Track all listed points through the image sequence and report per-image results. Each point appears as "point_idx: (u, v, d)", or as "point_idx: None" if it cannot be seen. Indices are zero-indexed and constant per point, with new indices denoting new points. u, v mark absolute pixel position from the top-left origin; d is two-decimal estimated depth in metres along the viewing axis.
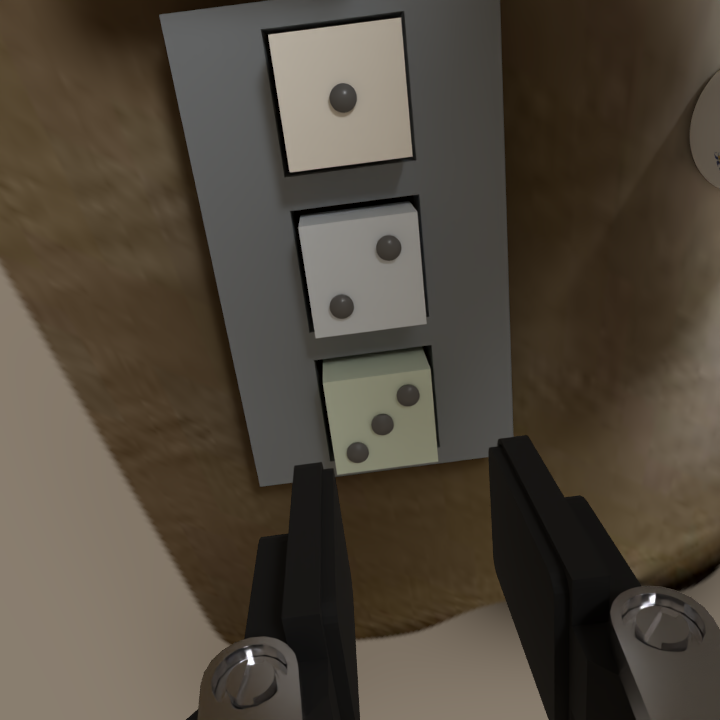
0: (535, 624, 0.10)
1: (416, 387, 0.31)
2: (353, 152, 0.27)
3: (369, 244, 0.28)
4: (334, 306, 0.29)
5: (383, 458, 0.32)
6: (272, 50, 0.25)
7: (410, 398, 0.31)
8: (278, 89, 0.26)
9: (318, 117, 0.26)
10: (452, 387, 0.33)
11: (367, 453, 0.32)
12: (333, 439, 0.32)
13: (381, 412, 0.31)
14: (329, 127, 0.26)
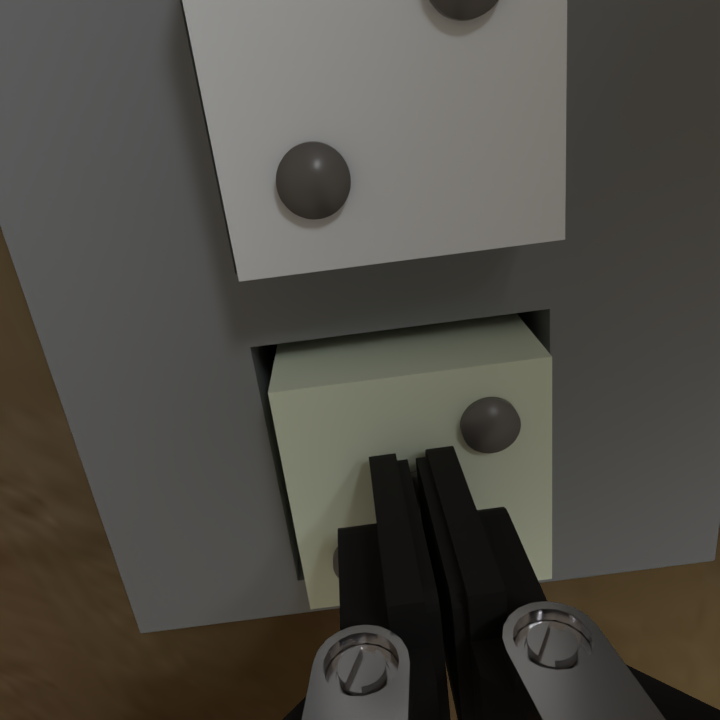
0: (447, 637, 0.10)
1: (511, 405, 0.12)
2: None
3: None
4: (290, 180, 0.09)
5: None
6: None
7: (496, 433, 0.12)
8: None
9: None
10: (591, 414, 0.14)
11: None
12: (299, 531, 0.13)
13: None
14: None
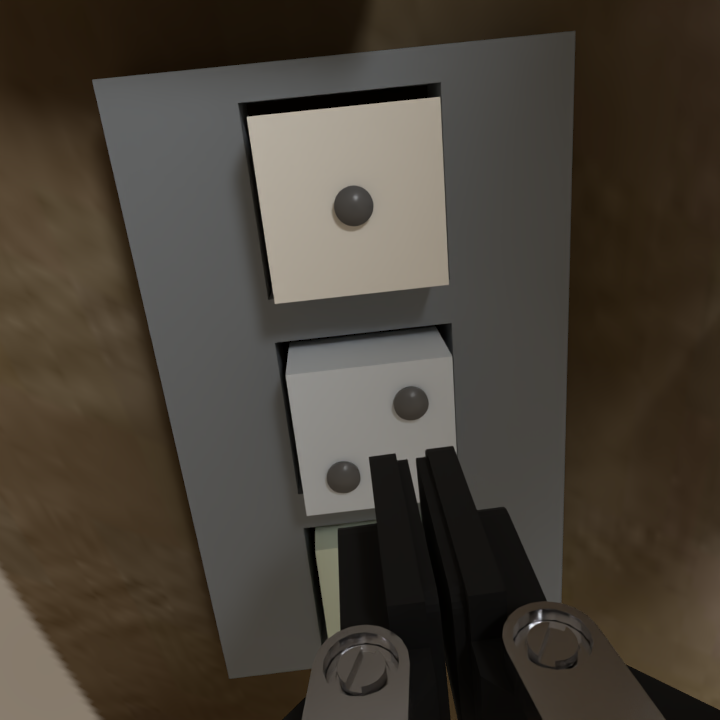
0: (448, 637, 0.10)
1: None
2: (366, 278, 0.19)
3: (384, 397, 0.20)
4: (333, 478, 0.21)
5: None
6: (252, 138, 0.17)
7: None
8: (260, 192, 0.18)
9: (317, 230, 0.18)
10: None
11: None
12: (327, 616, 0.25)
13: None
14: (332, 244, 0.18)
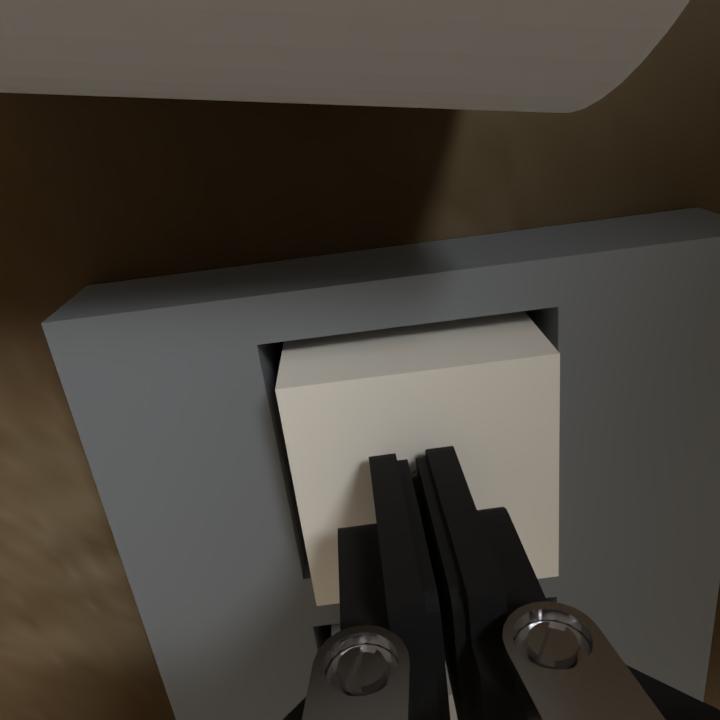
0: (448, 637, 0.10)
1: None
2: None
3: None
4: None
5: None
6: (284, 416, 0.12)
7: None
8: (296, 479, 0.12)
9: None
10: None
11: None
12: None
13: None
14: None
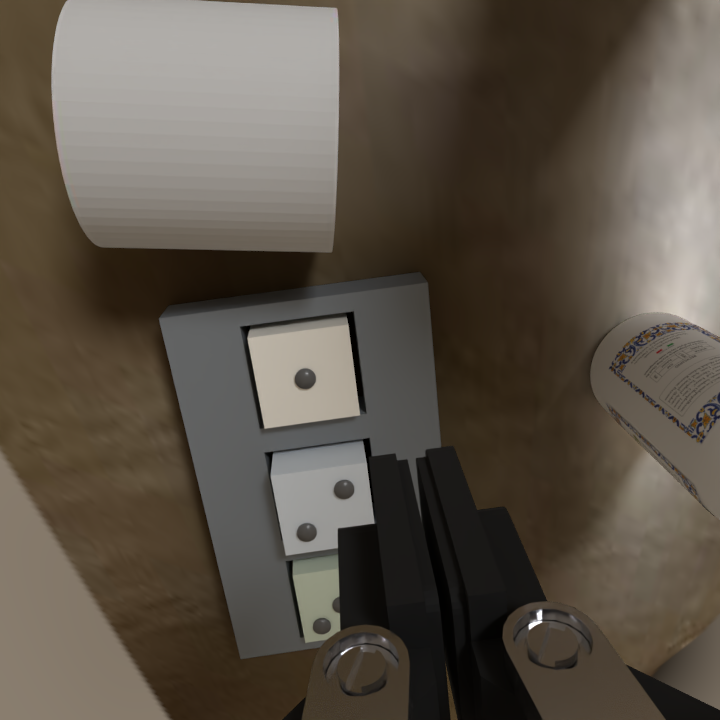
0: (447, 637, 0.10)
1: None
2: (314, 413, 0.35)
3: (328, 486, 0.35)
4: (300, 533, 0.36)
5: None
6: (250, 348, 0.33)
7: None
8: (255, 373, 0.33)
9: (286, 391, 0.34)
10: None
11: (329, 626, 0.39)
12: (301, 616, 0.39)
13: None
14: (294, 397, 0.34)
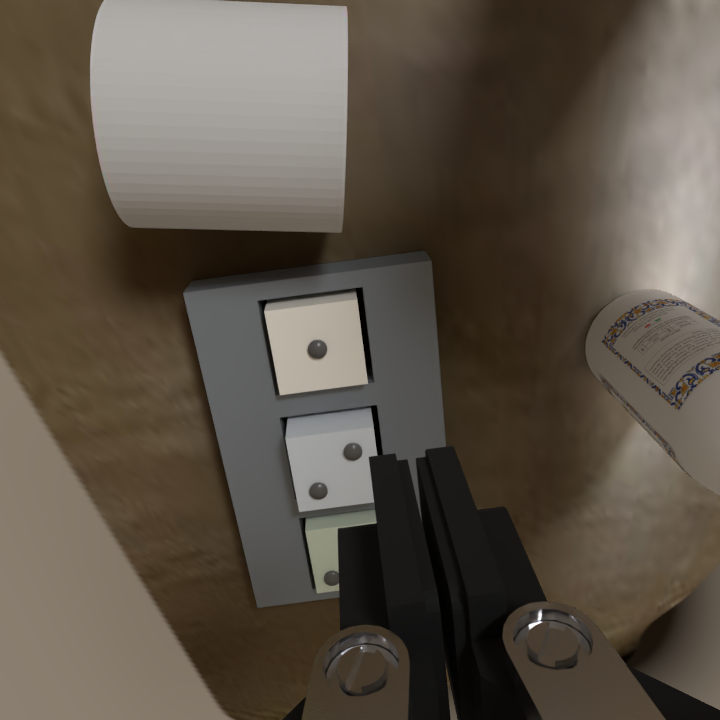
0: (448, 637, 0.10)
1: None
2: (325, 381, 0.37)
3: (338, 448, 0.38)
4: (312, 492, 0.39)
5: None
6: (267, 320, 0.36)
7: None
8: (271, 344, 0.36)
9: (300, 360, 0.37)
10: None
11: None
12: (313, 569, 0.43)
13: None
14: (307, 366, 0.37)
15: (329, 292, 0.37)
